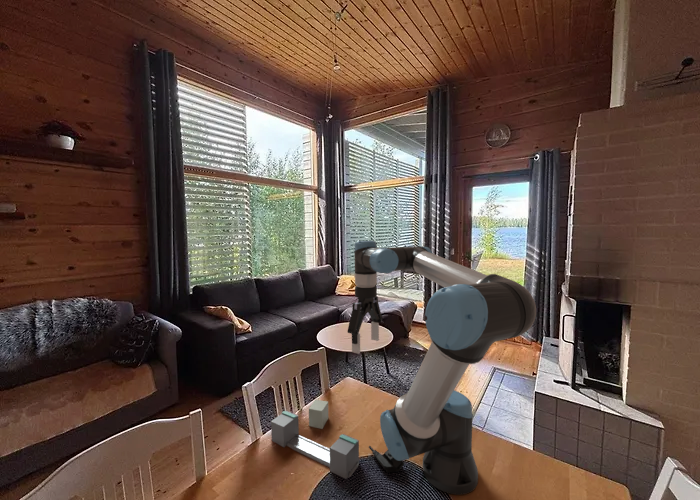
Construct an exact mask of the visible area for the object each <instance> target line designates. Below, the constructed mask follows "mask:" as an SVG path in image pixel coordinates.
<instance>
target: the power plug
mask: <svg viewBox="0 0 700 500" xmlns="http://www.w3.org/2000/svg"><path fill="white" fill-rule="evenodd" d="M368 448H369V450H370V451H371V452H372V455H373V456H374V458H375V459H376V460H377V462H378V464H379V465H380V466H381V467H382V468H383V469H384V470H385V472H386V473H395V472H396V473H398V472H399V471H400V470H401V469H402V468H403V466H405V463H404V460H402V461H398V460H396V459H394V458H393V456H392V455H391V454H390V452H389V450H388V449H387V450H386V451H385V452H384V453H383V454H381V453H380V452H379V451H378V450H377V449H374V448H373V447H372V446H371V445H369V446H368Z"/></svg>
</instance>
